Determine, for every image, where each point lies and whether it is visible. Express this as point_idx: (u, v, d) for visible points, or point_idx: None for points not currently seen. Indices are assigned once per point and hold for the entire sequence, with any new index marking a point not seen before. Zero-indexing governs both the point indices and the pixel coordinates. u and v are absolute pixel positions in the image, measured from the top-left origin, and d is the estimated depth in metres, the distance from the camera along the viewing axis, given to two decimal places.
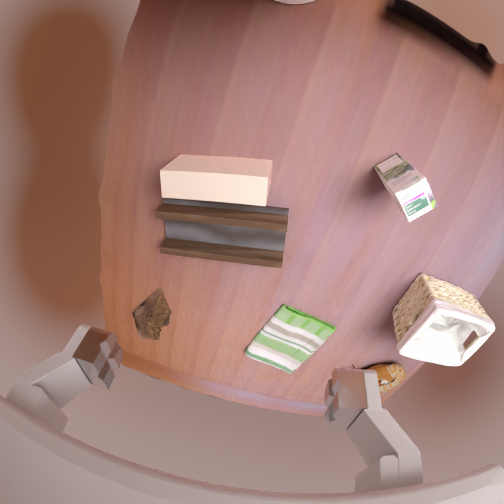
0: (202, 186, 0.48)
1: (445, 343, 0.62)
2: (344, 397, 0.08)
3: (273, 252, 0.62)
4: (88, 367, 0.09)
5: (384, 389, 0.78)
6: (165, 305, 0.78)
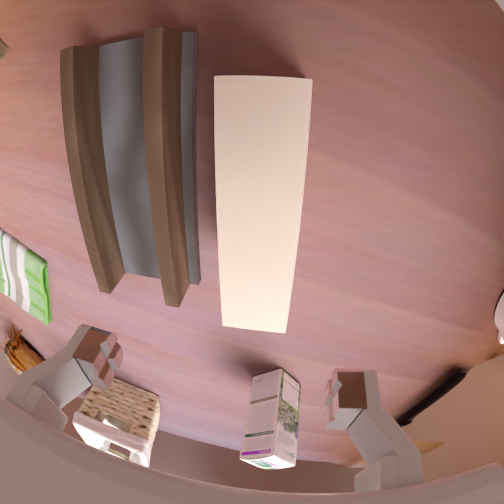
0: (260, 205, 0.17)
1: None
2: (344, 397, 0.08)
3: (118, 263, 0.32)
4: (88, 367, 0.09)
5: None
6: None
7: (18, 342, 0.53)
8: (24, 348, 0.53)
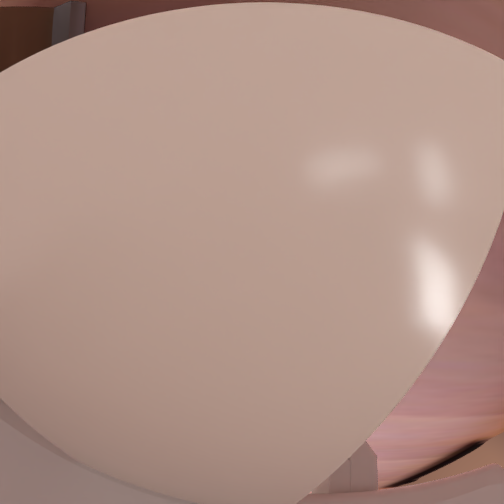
0: None
1: None
2: None
3: None
4: None
5: None
6: None
7: None
8: None
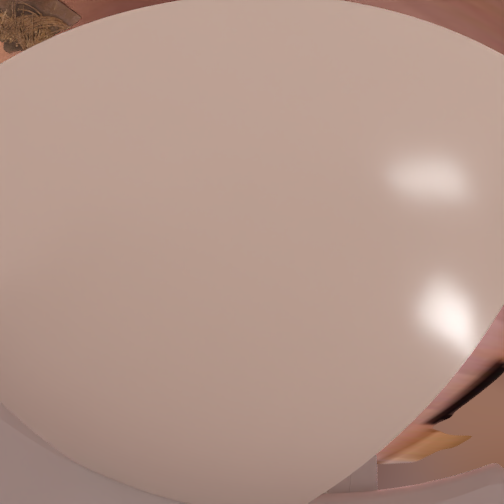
0: None
1: None
2: None
3: None
4: None
5: None
6: (41, 38, 0.20)
7: None
8: None
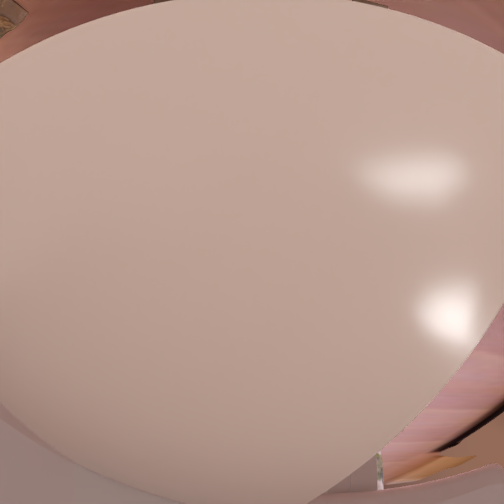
0: None
1: None
2: None
3: None
4: None
5: None
6: None
7: None
8: None
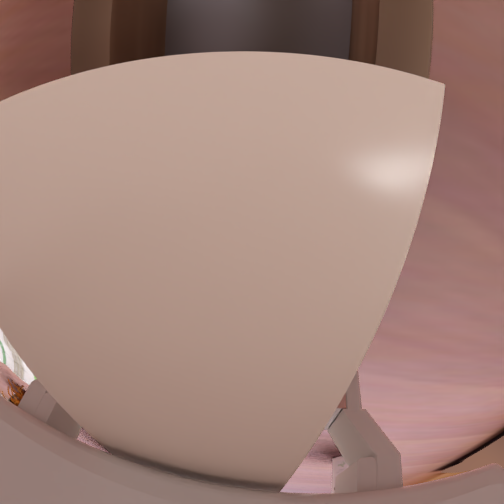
0: (185, 466, 0.05)
1: None
2: None
3: None
4: None
5: None
6: None
7: None
8: None
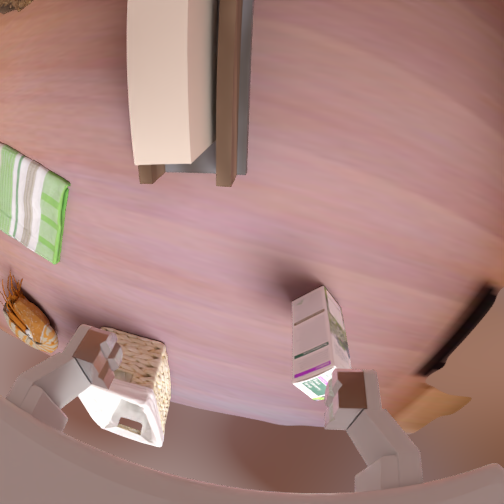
0: (156, 35, 0.17)
1: (109, 401, 0.53)
2: (344, 397, 0.08)
3: None
4: (88, 367, 0.09)
5: (23, 339, 0.49)
6: None
7: (18, 296, 0.49)
8: (24, 301, 0.49)
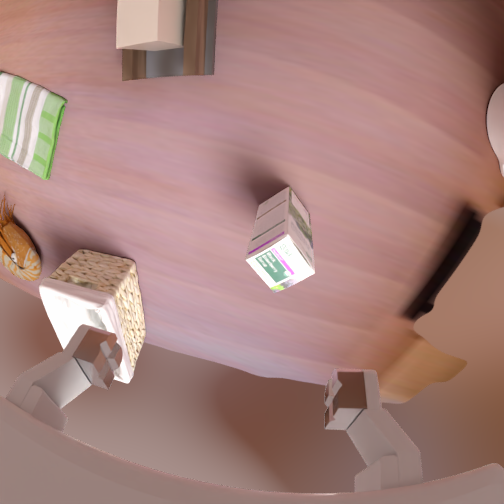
0: None
1: None
2: (344, 397, 0.08)
3: (143, 65, 0.32)
4: (88, 367, 0.09)
5: (8, 265, 0.50)
6: None
7: None
8: (14, 225, 0.50)
